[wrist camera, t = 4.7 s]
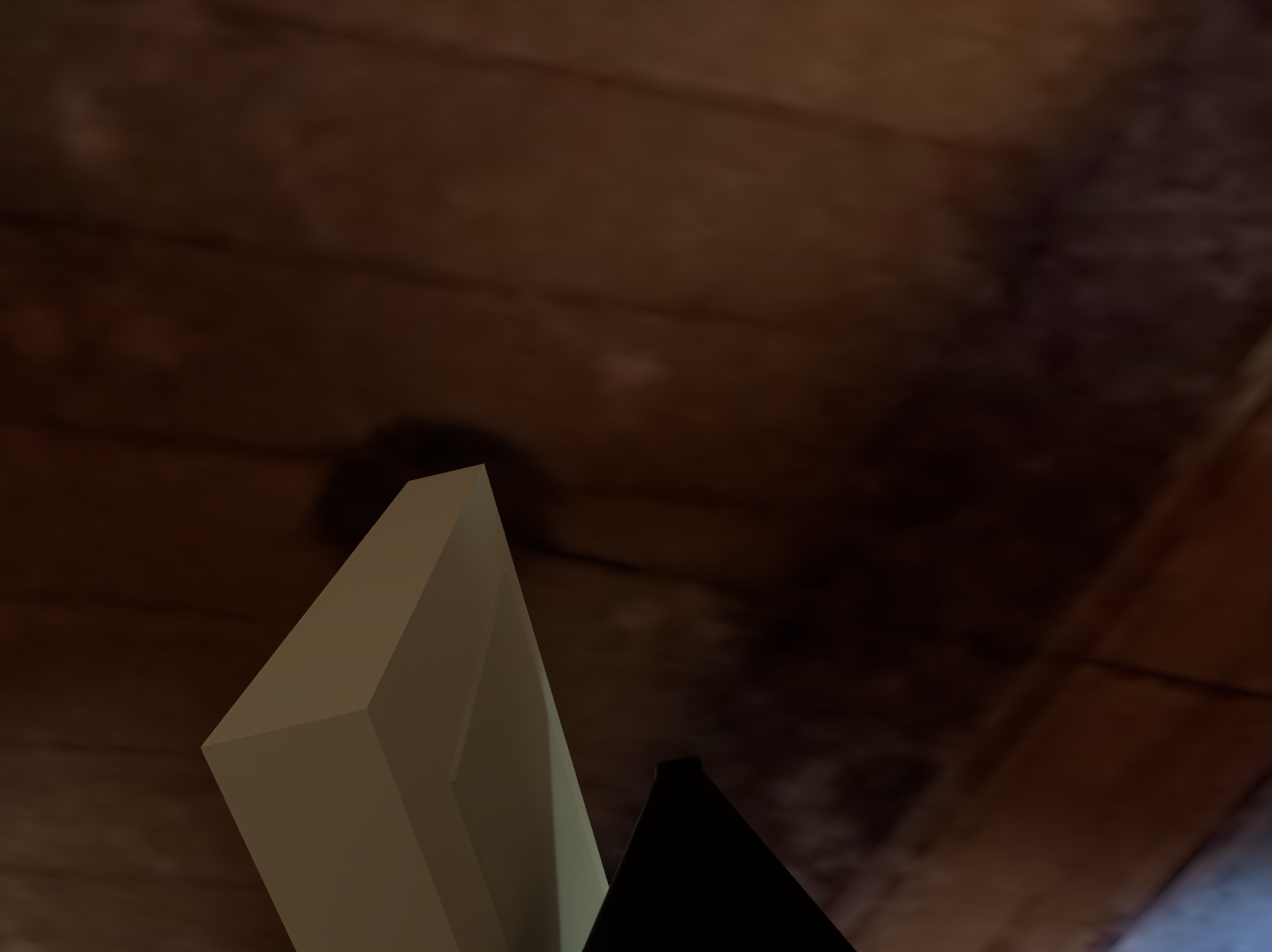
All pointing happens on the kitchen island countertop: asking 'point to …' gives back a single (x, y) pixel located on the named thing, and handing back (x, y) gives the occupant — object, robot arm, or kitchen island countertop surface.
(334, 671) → the door
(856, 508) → the kitchen island countertop surface
